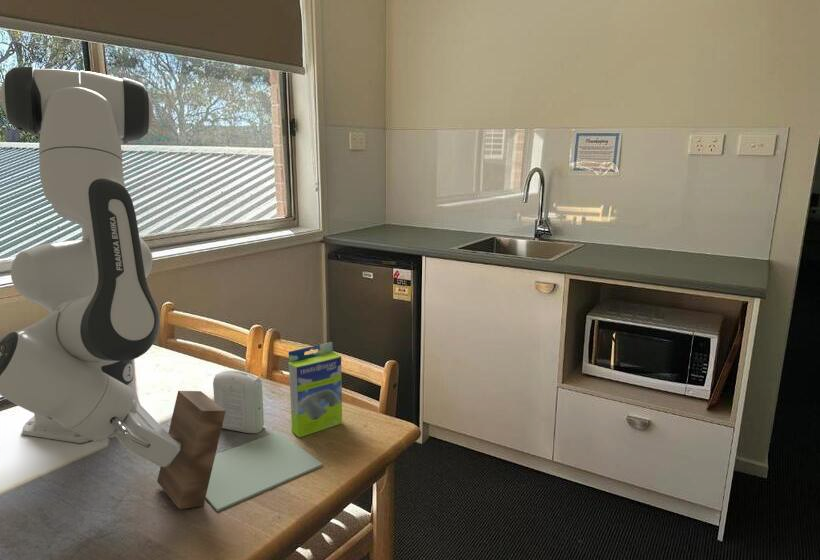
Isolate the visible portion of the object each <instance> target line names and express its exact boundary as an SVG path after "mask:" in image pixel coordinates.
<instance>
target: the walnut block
mask: <svg viewBox="0 0 820 560" xmlns="http://www.w3.org/2000/svg"><path fill="white" fill-rule="evenodd" d="M225 412H226V410H224V409H223V408H222V407H220V406H219V405H218V404H217V403H215V402H214V399H211V398H210V397H209V396H208V395H207V394H205V392H204V393H203V392H202V391H200V390H178V391H177V394H176V399H175V402H174V407H173V411H172V416H171V420H170V423H169V428H168V432H167V433H168V434H170V435H172V436H174V437H175V438H176V439H177V440H178V441H179V442H180V443H181V447H180V448H181V449H180V451H179V452H178V454H177V455H176V457H175V458H174V459H173V461H172V462H171V463H170V465H169V466H167V467H161V466H159V467H160V468H159V472H158V476H157V481H156V482H157V484H158V485H159V486H160V487H161V488H162V490H163V491H164V492H165V493H166V494H167V496H168V497H169V498H170V499H171V501H172V502H173V503H174V504H175V505H176V507H177V508H178V509H179V510H182V509H183V510H184V509H189V508H190V509H191V508H197V507H204V505H205V502H206V493H207V489H208V485H209V480H210V476H211V472H212V468H213V463H214V459H215V455H216V453H217V450H218V445H219V443H220V442H219V441H220V439H221V438H220V437H221V432H222V429H223V428H222V425H223V420H224V416H225Z"/></svg>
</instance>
